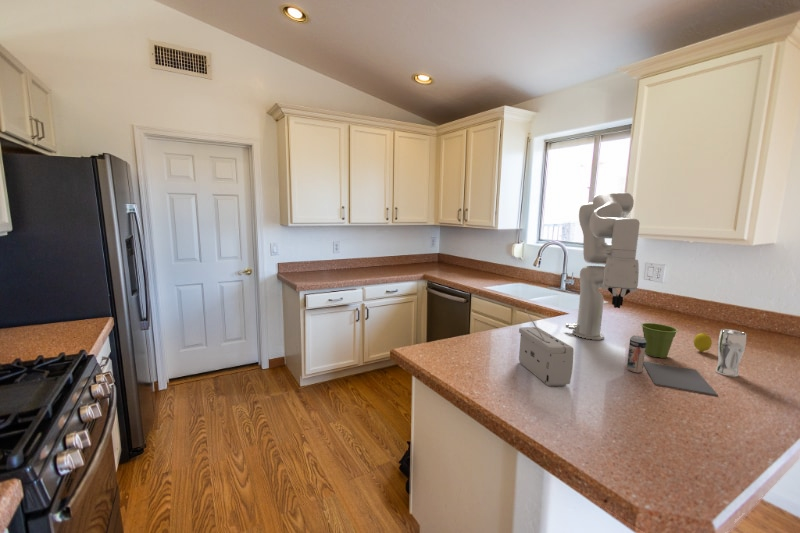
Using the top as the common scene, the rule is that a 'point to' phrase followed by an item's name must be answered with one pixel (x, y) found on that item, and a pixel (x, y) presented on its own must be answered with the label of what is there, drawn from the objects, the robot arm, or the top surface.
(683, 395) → the top surface
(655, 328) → the plant pot
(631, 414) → the top surface
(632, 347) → the beer can
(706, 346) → the lemon
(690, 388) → the rubber mat
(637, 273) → the robot arm
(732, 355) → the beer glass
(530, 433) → the top surface
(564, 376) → the stereo radio cassette player
